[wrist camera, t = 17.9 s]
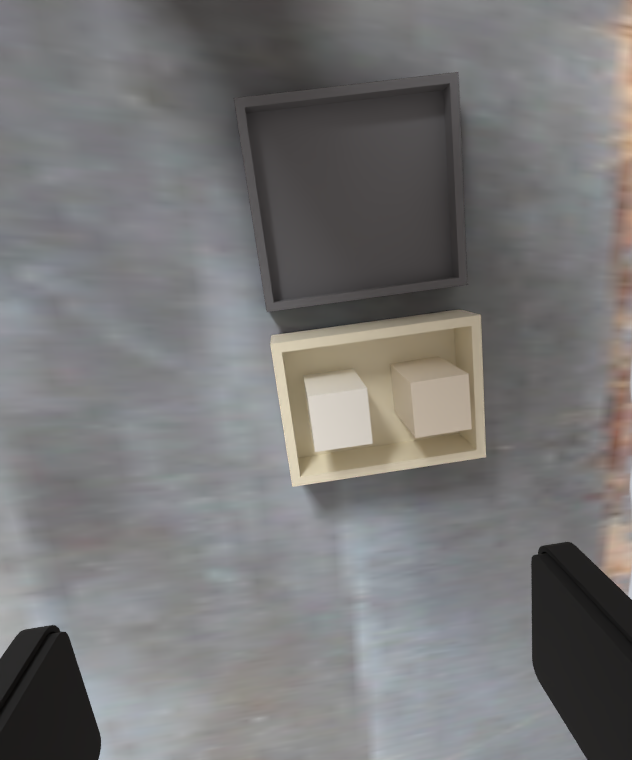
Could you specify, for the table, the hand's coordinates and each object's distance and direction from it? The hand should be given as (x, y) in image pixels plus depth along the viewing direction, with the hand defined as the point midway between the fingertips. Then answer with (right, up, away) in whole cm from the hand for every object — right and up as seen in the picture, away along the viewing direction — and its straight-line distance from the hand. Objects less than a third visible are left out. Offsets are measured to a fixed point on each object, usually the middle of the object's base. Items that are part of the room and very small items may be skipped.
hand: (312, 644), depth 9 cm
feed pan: (+3, +18, +25) cm, 31 cm away
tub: (+5, +5, +28) cm, 29 cm away
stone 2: (+8, +5, +28) cm, 30 cm away
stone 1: (+1, +4, +28) cm, 28 cm away
